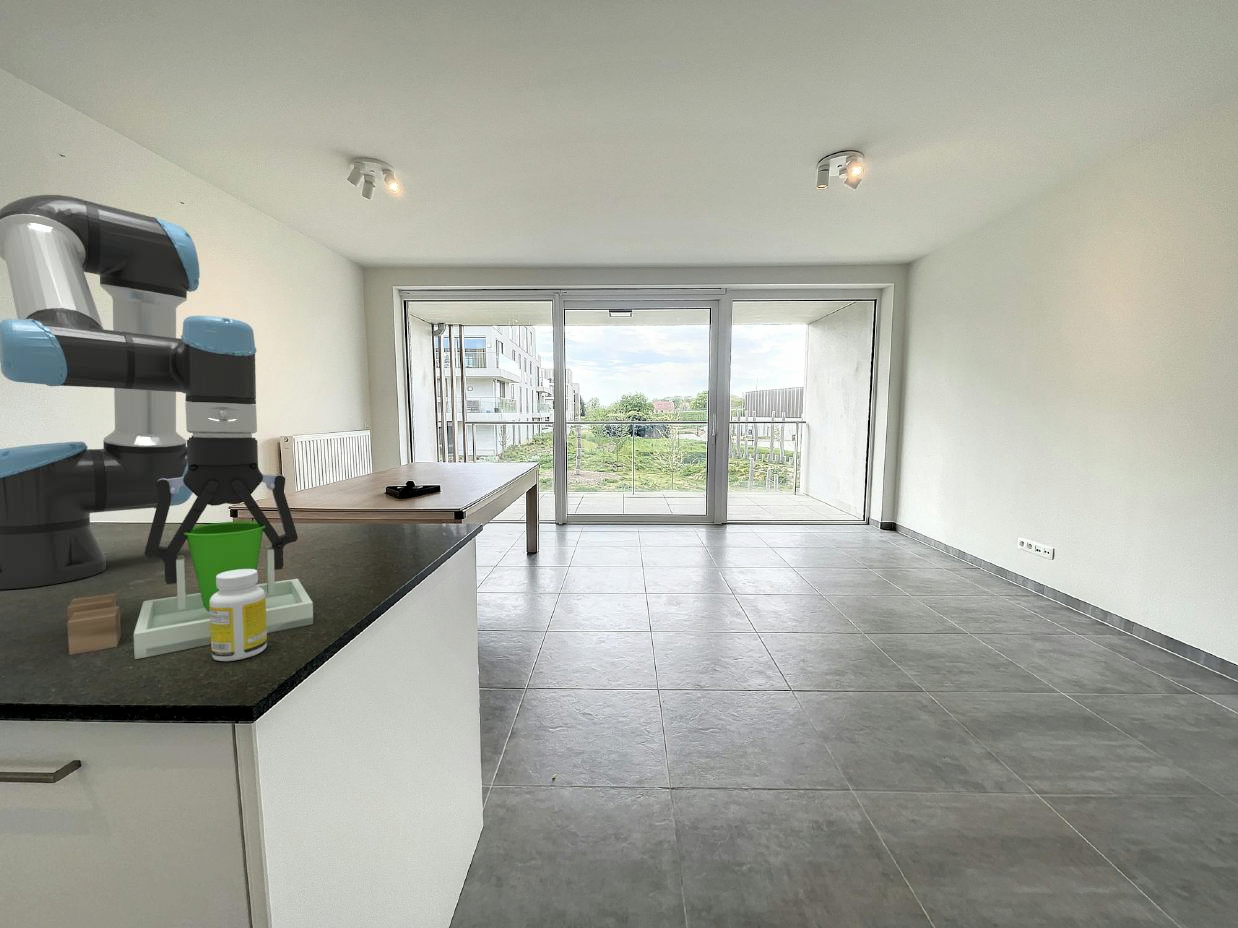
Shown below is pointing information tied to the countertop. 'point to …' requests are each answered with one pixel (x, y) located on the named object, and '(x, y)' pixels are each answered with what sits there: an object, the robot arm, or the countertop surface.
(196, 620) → the tray
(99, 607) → the walnut block
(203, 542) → the cup
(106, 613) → the walnut block
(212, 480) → the robot arm
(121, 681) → the countertop surface
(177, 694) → the countertop surface
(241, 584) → the supplement bottle
